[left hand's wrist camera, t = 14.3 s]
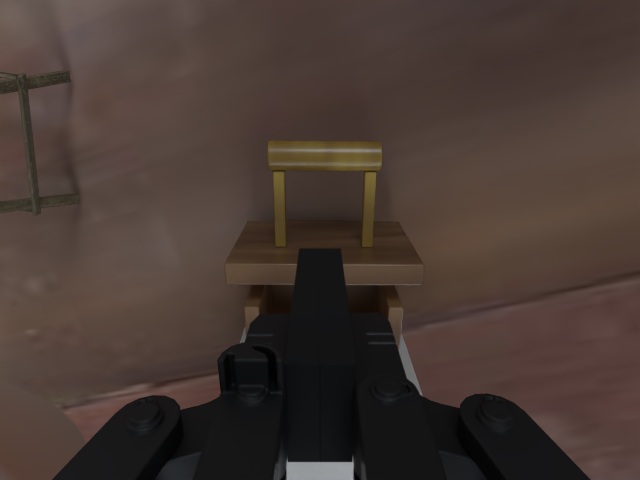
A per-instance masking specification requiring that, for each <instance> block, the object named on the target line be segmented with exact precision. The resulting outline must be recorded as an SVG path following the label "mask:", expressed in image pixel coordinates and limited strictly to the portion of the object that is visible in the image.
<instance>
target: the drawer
mask: <svg viewBox="0 0 640 480" xmlns="http://www.w3.org/2000/svg"><path fill="white" fill-rule="evenodd" d="M382 155H383V151H382V143H381V142H380V141H269V142H268V147H267V161H268V168H269V170H274V171H273V190H274V219H275V221H248V222H247V224H246V226H245V227H244V229H243V231H242V233H241V235H240V237H239V238H238V240H237V242H236V244H235V246H234V247H233V249H232V251H231V253H230V255H229V257H228V258H227V260H226V262H225V264H224V268H225V281H226V284H231V285H252V287H251V289H250V292H249V295H248V298H247V301H246V304H245V307H244V314H245V329H246V337H247V332H248V329H249V326H250V323H251V322H252V321H253V320H254V319H255V318H256V317H257V316H258V315H259V314H291V306H292V299H293V291H294V284H295V276H296V268H297V261H298V253H299V248H341V253H342V261H343V268H344V276H345V284H346V291H347V299H348V306H349V313H381V314H382V315H383V316H384V317H385V318H386V319H387V320H388V321H389V322H390V324H391V327H392V331H393V335H394V337H395V341H396V344H397V347H398V351H399V354H400V342H401V331H402V319H403V306H402V303H401V301H400V298H399V296H398V293H397V290H396V288H395V285H422V283H423V274H424V264H423V262H422V261H421V259H420V257H419V256H418V254H417V252H416V250H415V249H414V247H413V245H412V244H411V242H410V240H409V239H408V237H407V235H406V234H405V232H404V230H403V229H402V227H401V225H400V224H399V222H374V207H375V189H376V171H380V170H381V166H382ZM285 171H364V181H363V205H362V222H320V221H286V188H285Z"/></svg>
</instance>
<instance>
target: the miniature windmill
mask: <svg viewBox="0 0 640 480" xmlns="http://www.w3.org/2000/svg"><path fill="white" fill-rule="evenodd" d="M0 78H5V79H8V80H2V81H0V94H4V93H10V92H15V91H19V100H20V109H21V117H22V126H23V135H24V143H25V152H26V160H27V169H28V178H29V186H30V195H31V198H28V199H18V200H8V201H0V213H4V212H12V211H28V212H33V215H34V216H36V215H38V214H40V213H41V209H40V208H45V207H53V206H61V205H70V204H78V203H79V195H77V194H68V195H58V196H48V197H39V190H38V181H37V172H36V163H35V153H34V144H33V135H32V126H31V116H30V107H29V98H28V89H32V88H38V87H44V86H49V85H55V84H60V83H66V82H71V80H70V75H69V71H59V72H52V73H46V74H40V75H33V76H27V77H26V74H24V73H22V74H21V75H17V74H10V73H2V72H0Z"/></svg>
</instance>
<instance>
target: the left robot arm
mask: <svg viewBox="0 0 640 480" xmlns="http://www.w3.org/2000/svg"><path fill="white" fill-rule="evenodd" d="M217 361H218V370H219V380H220V390H221V394H220V397H218V398H217V399H215V400H213V401H211V402H208V403H205V404H202V405H199V406H195V407H191V408H187V409H182V410H180V406H179V405H178V403H177V402H176V401H175V400H174V399H172V398H169V397H167V396H155V395H152V396H148V397H144V398H139V399H137V400H135V401H133V402H131V403H129V404H127V405H125V406H124V407H123V408H122V409H120V410H119V411H118V412H117V413H115V414H114V416H113V417H112V418H111V419H110V420H109V421H108V422H107V423H106V424H105V425H104V426H103V427H102V428H101V429H100V430H99V431H98V432H97V433H96V434H95V435H94V436H93V437H92V439H91V440H90V441H89V442H88V443H87V444H86V445H85V446H84V447H83V448H82V449H81V450H80V451H79V452H78V453H77V454H76V455H75V456H74V457H73V458H72V459H71V460H70V462H69V463H68V464H67V465H66V466H65V467H64V468H63V469H62V470H61V471H60V472H59V473H58V474H57V475H56V476H55V477H54V478H53V479H52V480H287V470H286V466H287V460H288V462H352V460H353V464H354V470H353V480H590V479H589V478H588V477H587V476H586V475H585V474H584V473H583V471H582V470H581V469H580V468H579V467H578V466H577V465H576V464H575V463H574V462H573V461H572V460H571V459H570V458H569V457H568V456H567V455H566V454H565V453H564V452H563V451H562V450H561V449H560V448H559V447H558V446H557V444H556V443H555V442H554V441H553V440H552V439H551V438H550V437H549V436H548V435H547V434H546V433H545V432H544V431H543V430H542V429H541V428H540V427H539V426H538V425H537V424H536V423H535V422H534V421H533V420H532V419H531V417H530V416H529V415H528V414H527V413H526V412H525V411H524V410H522V409H521V408H520V407H518V406H517V405H516V404H515V403H513V402H511V401H509V400H507V399H505V398H503V397H500V396H495V395H491V394H474V395H472V396H469V397H467V398H465V400H464V401H463V402H462V403H461V404H460V408H456V407H452V406H448V405H444V404H440V403H437V402H434V401H431V400H429V399H427V398H425V397H423V396H421V395H420V393H419V391H418V389H417V388H416V386H415V385H414V384H413V383H412V382H411V381H410V380H408V379H407V377H406V374H405V370H404V367H403V364H402V360H401V357H400V354H399V351H398V347H397V344H396V341H395V337H394V335H393V331H392V327H391V324H390V322H389V321H388V320H387V319H386V318H385V317H384V316H383V315H382V314H381V313H349V306H348V299H347V291H346V284H345V276H344V268H343V261H342V253H341V248H299V253H298V261H297V268H296V276H295V284H294V291H293V299H292V306H291V314H259V315H258V316H257V317H256V318H255V319H254V320H253V321H252V322H251V323H250V326H249V329H248V332H247V337H246V339H245V342H243V343H240V344H237V345H234V346H231V347H230V348H228V349H227V350H225V351H224V352H223V353H222V354H221V355H220V357H219V358H218V360H217Z"/></svg>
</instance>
